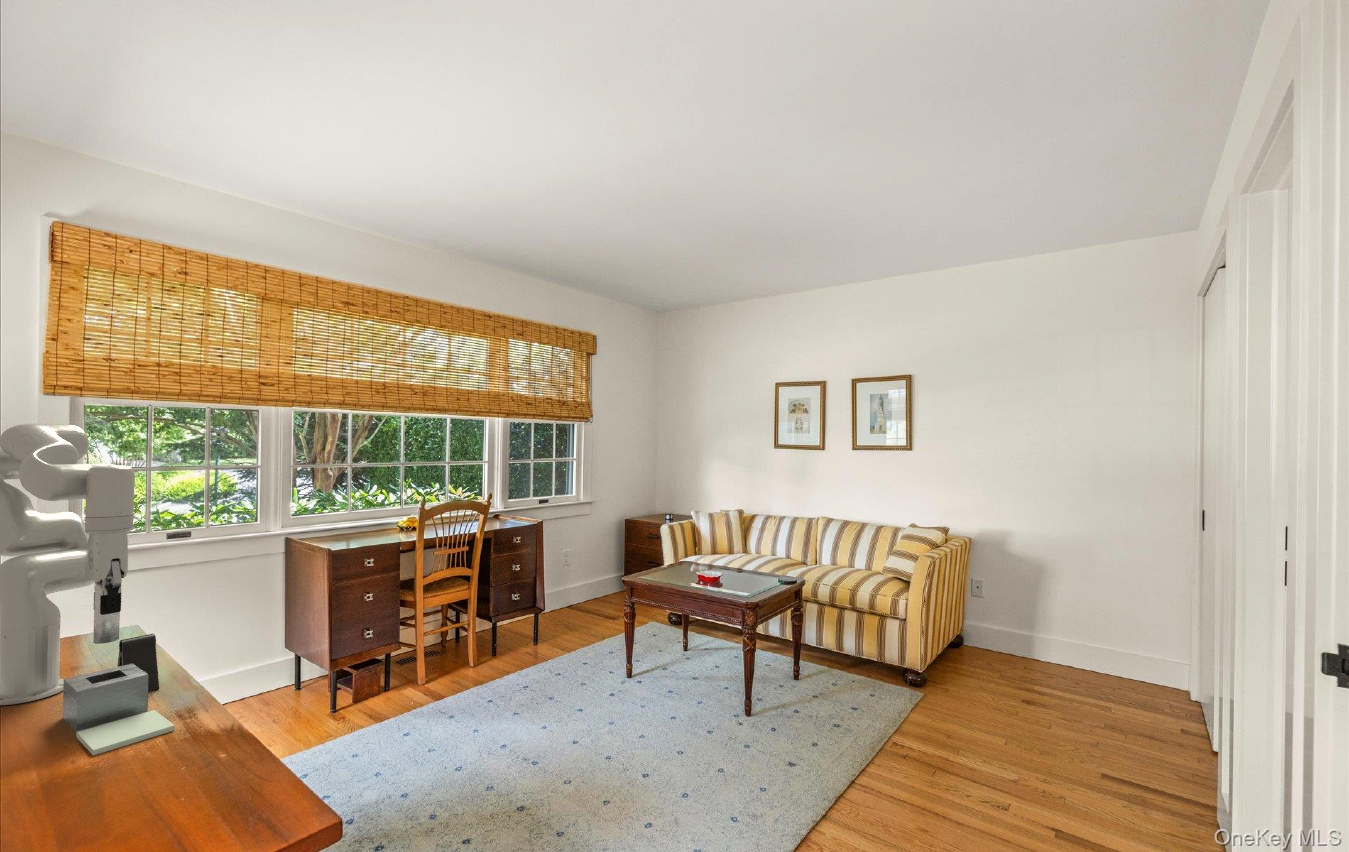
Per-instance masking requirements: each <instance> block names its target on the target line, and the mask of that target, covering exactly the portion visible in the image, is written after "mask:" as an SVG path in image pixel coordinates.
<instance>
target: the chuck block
mask: <svg viewBox="0 0 1349 852" xmlns="http://www.w3.org/2000/svg"><path fill="white" fill-rule="evenodd" d="M63 679H64V688H63V691H62V692H63V694H62V695H63V696H62V698H63V699H62V719H63V720H64V721H65V722H66V723H67V724H68V725H69V726H70V727H71V729H72V730H74V732H75V733H76V732H78V731H82V730H85V729H89V728H92V727H96V726H99V725H103V724H106V723H110V722H114V721H117V720H121V719H124V718H128V717H131V716H135V715H138V714H142V713H145V712H149V711H148V709H149V708H148V707H149V705H148V704H149V692H148V674H147V673H146V672H144V671H143V670H141V669H140V668H138V667H137V666H135V665H134V664H128V665H123V666H119V667H117V666H115V667H112V668H107V669H106V668H105V669H102V670H97V671H94V672H89V673H85V674H81V675H76V676H71V677H66V678H63Z"/></svg>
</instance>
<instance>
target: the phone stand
mask: <svg viewBox="0 0 1349 852" xmlns="http://www.w3.org/2000/svg"><path fill="white" fill-rule="evenodd" d="M156 637H157V636H156V634H155V633H150V634H149V633H148V634H145V635H140V636H134V637H129V638H125V639H124V638H123V639H119V643H118V659H117V665H116V667H119V666H123V665H128V664H134V665H135V666H137V667H138V668H140V669H141V670H143V671H144V672H146V673H147V674H148V693H150V691H151V692H154V690H155V691H158V690H160V682H159V681H160V680H159V670H158V657H157V638H156ZM157 689H158V690H157Z"/></svg>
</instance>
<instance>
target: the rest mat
mask: <svg viewBox="0 0 1349 852" xmlns="http://www.w3.org/2000/svg"><path fill="white" fill-rule="evenodd" d="M175 726H176V725H175V724H174V723H172V722H171V721H170V720H168V719H167V718H166V717H165V716H163V714H160V713H159V712H158V711H157V710H155V709H151V710H150V711H148V712H145V713H142V714H138V715H135V716H131V717H128V718H124V719H121V720H117V721H114V722H110V723H106V724H103V725H99V726H96V727H92V728H89V729H85V730H82V731H78V732H75V734H76V737H75V738H76V739H77V740H78V741H79V742H80V743H81V744H82V746H84V748H85V749H87V750H88V752H89V753H90V754H91V755H92V756H97V755H100V754H103V753H106V752H110V751H113V750H116V749H118V748H122V747H125V746H128V745H132V744H135V743H138V742H139V743H140V742H142V741H144V740H149V739H151V738H154V737H157V736H161V735H164V734H167V733H170V732H174V731H175Z"/></svg>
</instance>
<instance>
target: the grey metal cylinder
mask: <svg viewBox="0 0 1349 852" xmlns="http://www.w3.org/2000/svg"><path fill="white" fill-rule="evenodd" d="M109 583H111V582H108V583H107V585H108V584H109ZM94 587H95V589H94V592H95V602H94V601H93V636H92V637H93V640H92V641H93V642H92V643H93V644H95V645H101V644H108V643H113V642H115V641H118V640H120V627H121V626H120V624H121V623H120V621H121V618H120V616H121V615H120V614H121V611H120V612H117V613H111V614H105V615H101V614H100V595H103V593H102V583H98V584H95V583H94Z"/></svg>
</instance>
